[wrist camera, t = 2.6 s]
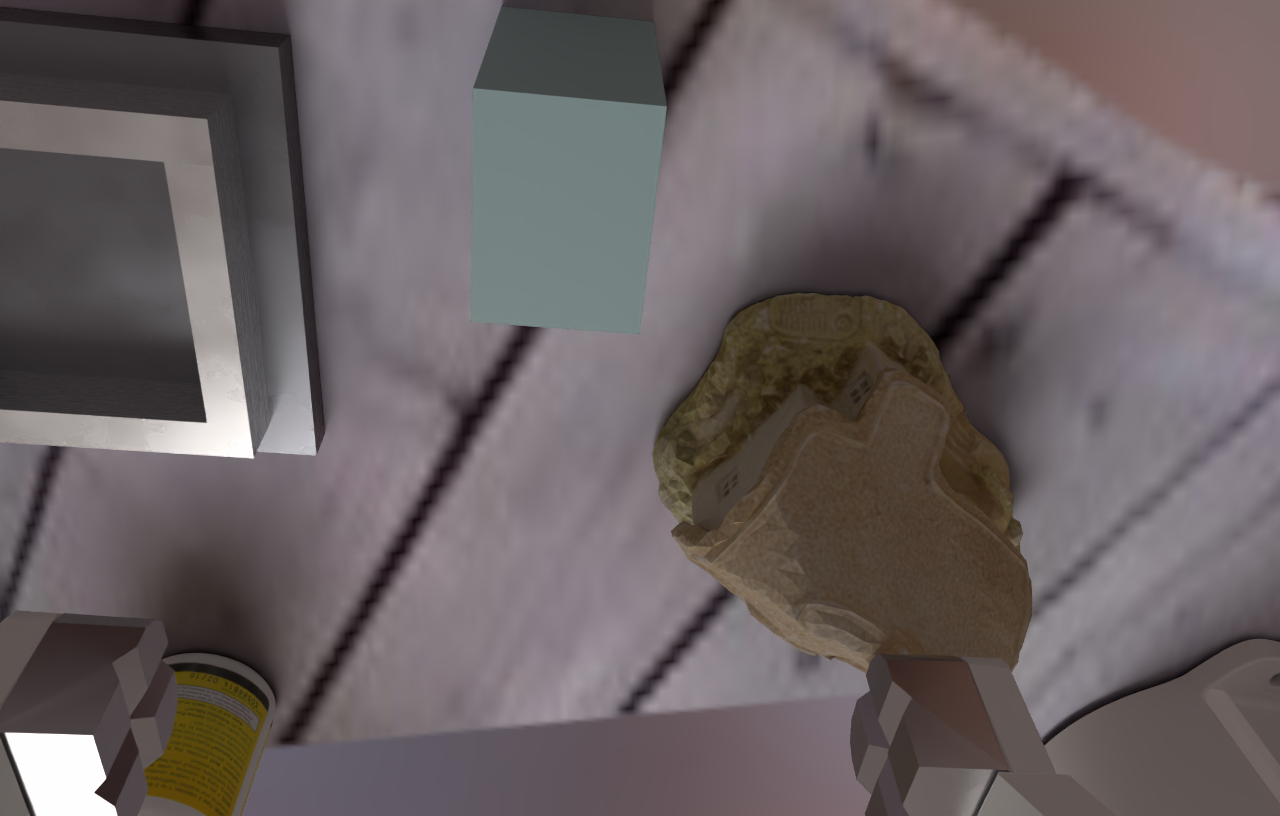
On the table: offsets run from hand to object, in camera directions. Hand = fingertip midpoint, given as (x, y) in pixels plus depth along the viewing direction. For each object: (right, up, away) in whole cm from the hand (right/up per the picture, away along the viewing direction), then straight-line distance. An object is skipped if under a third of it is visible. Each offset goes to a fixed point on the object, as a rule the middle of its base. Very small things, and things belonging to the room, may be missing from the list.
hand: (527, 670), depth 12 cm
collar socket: (-15, +8, +18) cm, 25 cm away
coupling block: (-1, +11, +16) cm, 20 cm away
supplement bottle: (-16, -8, +29) cm, 35 cm away
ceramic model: (+8, +1, +24) cm, 25 cm away
